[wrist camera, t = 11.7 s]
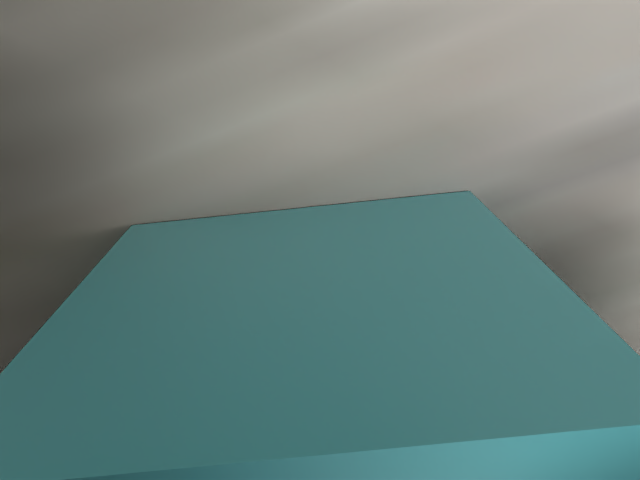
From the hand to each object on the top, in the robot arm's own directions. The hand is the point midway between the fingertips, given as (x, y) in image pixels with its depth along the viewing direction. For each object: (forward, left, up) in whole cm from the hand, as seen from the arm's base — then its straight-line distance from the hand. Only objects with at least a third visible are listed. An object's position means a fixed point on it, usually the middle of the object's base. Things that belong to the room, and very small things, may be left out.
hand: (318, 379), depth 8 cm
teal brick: (0, 0, -1) cm, 1 cm away
